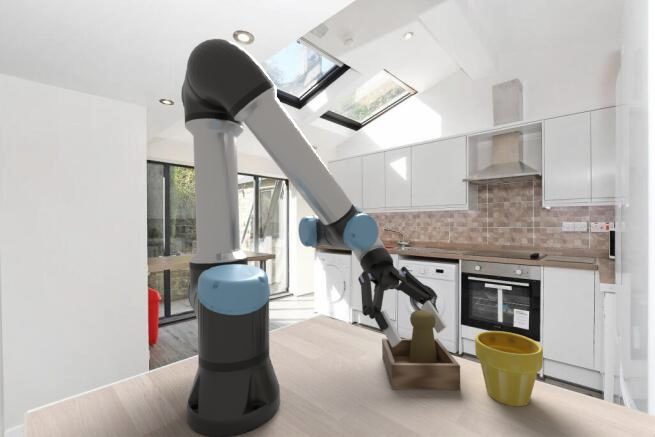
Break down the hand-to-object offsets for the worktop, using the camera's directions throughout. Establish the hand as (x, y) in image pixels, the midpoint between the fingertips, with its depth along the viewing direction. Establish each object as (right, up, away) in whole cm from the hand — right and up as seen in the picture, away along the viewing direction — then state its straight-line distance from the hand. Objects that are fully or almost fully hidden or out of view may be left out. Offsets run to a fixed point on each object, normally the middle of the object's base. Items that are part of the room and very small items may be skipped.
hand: (421, 336), depth 62 cm
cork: (+1, -7, +3) cm, 8 cm away
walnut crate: (-1, -8, +1) cm, 8 cm away
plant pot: (+13, -8, -8) cm, 17 cm away
